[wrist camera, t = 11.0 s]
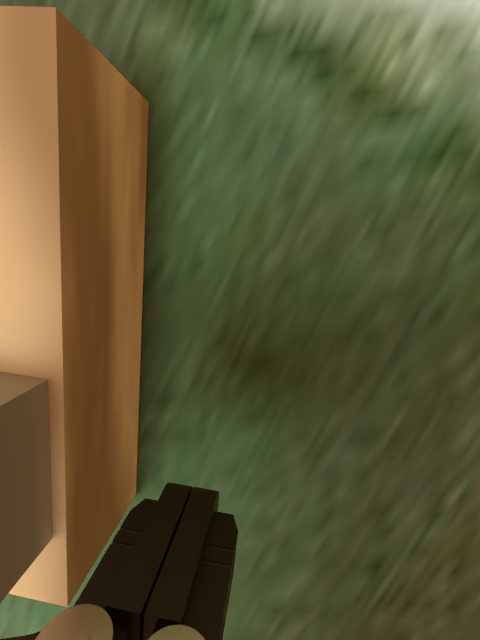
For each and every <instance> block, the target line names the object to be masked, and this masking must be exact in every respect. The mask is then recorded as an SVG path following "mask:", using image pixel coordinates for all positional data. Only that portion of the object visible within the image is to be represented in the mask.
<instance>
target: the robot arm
mask: <svg viewBox="0 0 480 640" xmlns="http://www.w3.org/2000/svg"><path fill="white" fill-rule="evenodd" d="M218 500H219V491H214V490H209V489H203V488H198V487H194V488H193V487H191V486H186V485H180V484H175V483H169V482H168V483H167V484H166V486H165V488H164V490H163V492H162V494H161V496H160V498H159V500H158V501H156V500H151V499H146V498H145V499H144V500H143V501H142V502H140V503H139V504H138V505H137V506H136V507H134V508H133V509H132V510H131V511H130V512H129V514H128V516H127V517H126V519H125V521H124V522H123V524H122V526H121V529H120V530H119V531H118V532H117V534H116V536H115V538H114V539H113V542H112V544H110V546H109V548H108V549H107V551H106V553H105V555H104V556H103V558H102V560H101V561H100V563H99V565H98V566H97V568H96V570H95V571H94V573H93V575H92V577H91V578H90V580H89V582H88V583H87V585H86V587H85V588H84V590H83V592H82V593H81V595H80V597H79V599H78V600H77V602H76V603H75V605H74V606H73V607H70V608H68V609H66V610H64V611H62V612H61V613H59V614H58V615H56V616H55V617H54V618H53V619H52V620H50V621H49V622H48V623H47V624H46V626H45V627H44V628H43V629H42V631H40V632H37V633H34V634H30V635H26V636H20V637H13V638H6V639H0V640H222V638H223V632H224V626H225V620H226V614H227V608H228V602H229V596H230V590H231V584H232V578H233V570H234V561H235V553H236V544H237V535H238V530H237V526H236V523H235V520H234V516H233V515H231V514H226V513H221V512H217V510H218Z"/></svg>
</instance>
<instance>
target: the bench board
mask: <svg viewBox="0 0 480 640" xmlns="http://www.w3.org/2000/svg"><path fill="white" fill-rule="evenodd" d="M148 119H149V102H148V101H147V100H146V99H145V98H144V97H143V96H142V95H141V94H140V93H139V92H138V91H137V90H136V89H135V88H134V87H133V86H132V85H131V84H130V83H129V82H128V81H127V80H126V79H125V78H124V77H123V76H122V75H121V73H120V72H119V71H118V70H117V69H116V68H115V67H114V66H113V65H112V64H111V63H110V62H109V61H108V60H107V59H106V58H105V57H104V56H103V55H102V54H101V53H100V52H99V51H98V50H97V49H96V48H95V47H94V46H93V45H92V44H91V43H90V42H89V41H88V40H87V39H86V38H85V37H84V36H83V35H82V34H81V33H80V32H79V31H78V30H77V28H76V27H75V26H74V25H73V24H72V23H71V22H70V21H69V20H68V19H67V18H66V17H65V16H64V15H63V14H62V13H61V12H60V11H59V10H58V9H57V8H56V7H26V6H0V372H5V373H12V374H18V375H25V376H32V377H38V378H45V379H48V384H49V417H50V451H51V484H52V518H53V538H52V539H51V541H50V542H49V543H48V544H47V546H46V547H45V548H44V549H43V551H42V552H41V553H40V554H39V556H38V557H37V558H36V559H35V561H34V562H33V563H32V564H31V566H30V567H29V568H28V569H27V571H26V572H25V573H24V574H23V575H22V577H21V578H20V579H19V580H18V582H17V583H16V584H15V585H14V587H13V588H12V589H11V590H10V592H9V593H8V594H13V595H17V596H21V597H26V598H30V599H34V600H39V601H43V602H48V603H52V604H56V605H61V606H65V607H68V606H69V604H70V602H71V601H72V599H73V597H74V596H75V594H76V592H77V591H78V589H79V587H80V586H81V584H82V583H83V581H84V579H85V578H86V576H87V574H88V573H89V571H90V569H91V568H92V566H93V564H94V563H95V561H96V559H97V558H98V556H99V555H100V553H101V551H102V550H103V548H104V546H105V545H106V543H107V541H108V540H109V538H110V536H111V535H112V533H113V531H114V530H115V528H116V527H117V525H118V523H119V522H120V520H121V518H122V517H123V515H124V513H125V512H126V510H127V508H128V507H129V505H130V504H131V502H132V500H133V499H134V497H135V495H136V480H137V450H138V420H139V390H140V359H141V329H142V299H143V269H144V239H145V209H146V179H147V149H148Z"/></svg>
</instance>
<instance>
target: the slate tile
mask: <svg viewBox="0 0 480 640" xmlns="http://www.w3.org/2000/svg"><path fill="white" fill-rule="evenodd" d="M52 538H53V518H52V484H51V451H50V417H49V384H48V379H45V378H38V377H32V376H25V375H18V374H12V373H5V372H0V603H1V602H2V600H3V599H4V598H5V597H6V595H7V594H8V593H9V592H10V590H11V589H12V588H13V587H14V585H15V584H16V583H17V582H18V580H19V579H20V578H21V577H22V575H23V574H24V573H25V572H26V571H27V569H28V568H29V567H30V566H31V564H32V563H33V562H34V561H35V559H36V558H37V557H38V556H39V554H40V553H41V552H42V551H43V549H44V548H45V547H46V546H47V544H48V543H49V542H50V541H51V539H52Z"/></svg>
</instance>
